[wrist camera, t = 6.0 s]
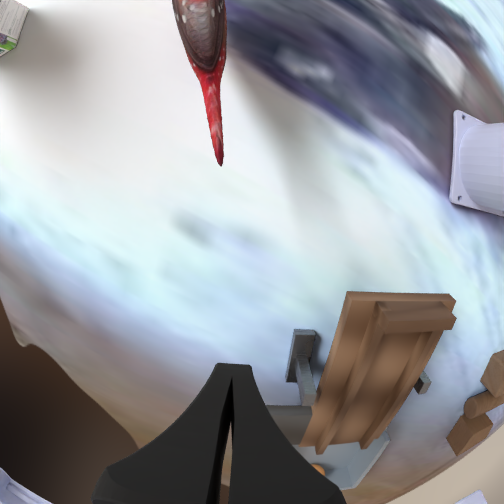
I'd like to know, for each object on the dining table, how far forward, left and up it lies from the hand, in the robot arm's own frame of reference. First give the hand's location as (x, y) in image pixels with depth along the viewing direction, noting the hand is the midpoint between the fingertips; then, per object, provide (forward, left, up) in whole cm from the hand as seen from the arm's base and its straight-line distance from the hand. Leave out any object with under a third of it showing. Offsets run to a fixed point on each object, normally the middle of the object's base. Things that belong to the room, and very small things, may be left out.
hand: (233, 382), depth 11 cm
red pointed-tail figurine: (+3, -17, -11) cm, 20 cm away
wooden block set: (-40, +16, -11) cm, 45 cm away
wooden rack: (-8, +6, -6) cm, 12 cm away
